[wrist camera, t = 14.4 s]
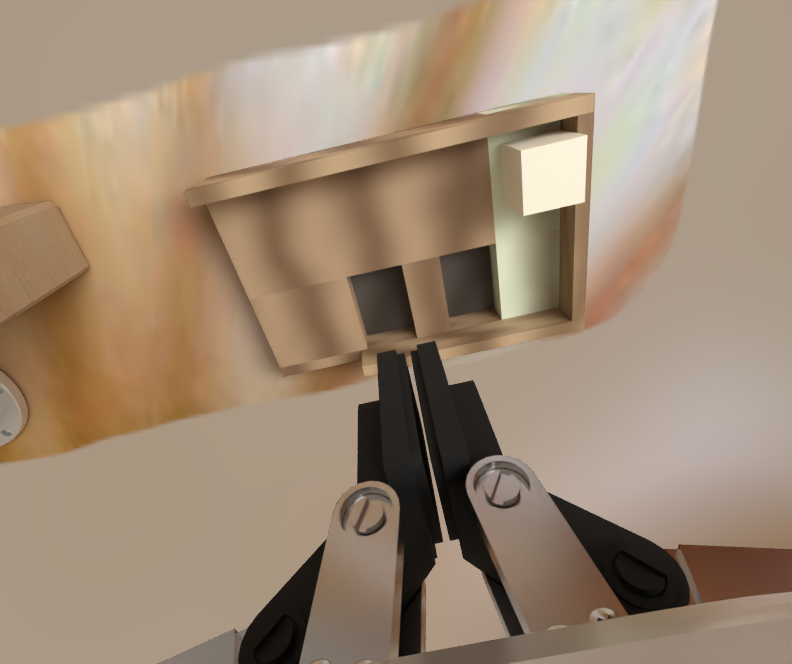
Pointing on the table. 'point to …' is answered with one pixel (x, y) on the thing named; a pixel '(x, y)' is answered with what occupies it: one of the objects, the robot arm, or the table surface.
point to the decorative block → (34, 256)
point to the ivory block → (544, 171)
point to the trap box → (406, 242)
